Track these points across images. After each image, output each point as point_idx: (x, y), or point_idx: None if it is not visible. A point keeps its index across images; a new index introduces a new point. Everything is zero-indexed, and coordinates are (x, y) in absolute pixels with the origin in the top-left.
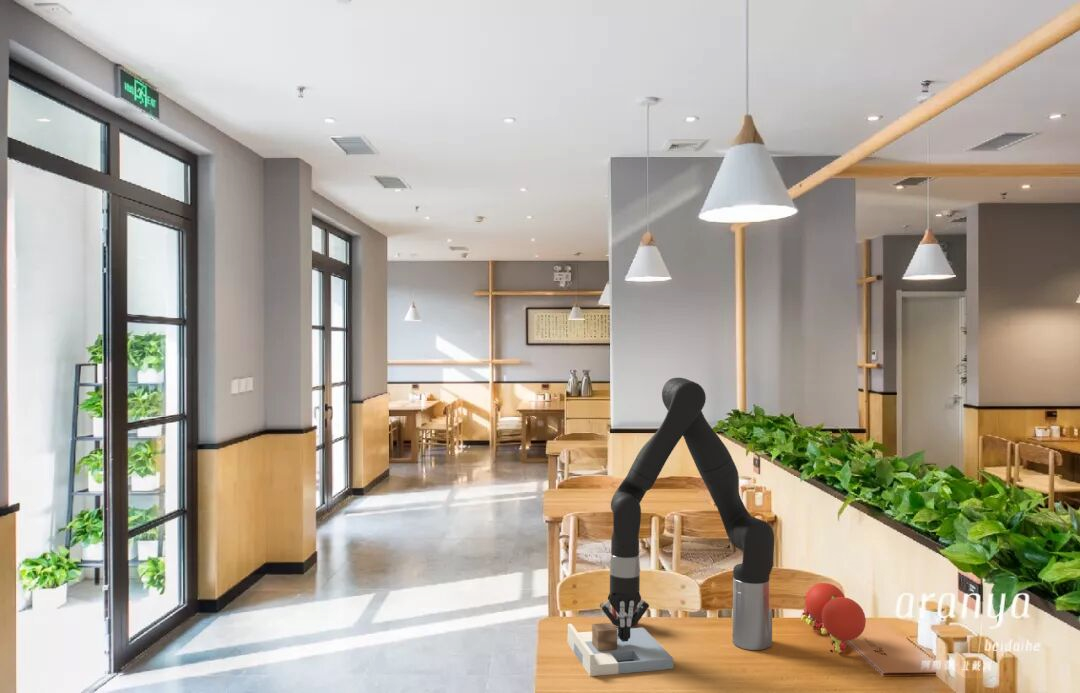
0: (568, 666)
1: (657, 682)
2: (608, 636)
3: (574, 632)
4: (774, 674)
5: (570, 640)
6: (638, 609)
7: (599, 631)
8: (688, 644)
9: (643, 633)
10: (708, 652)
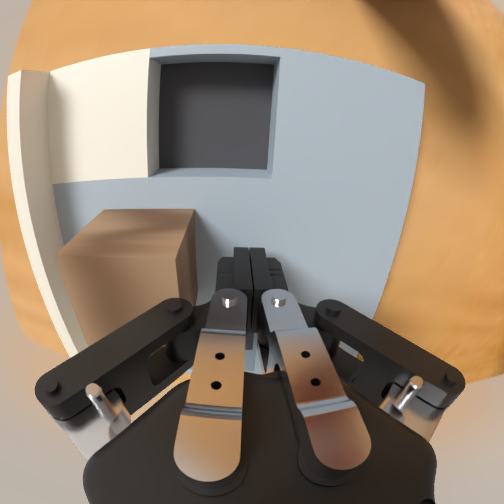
0: None
1: None
2: None
3: (15, 196)
4: (464, 364)
5: None
6: (380, 381)
7: None
8: (477, 209)
9: (397, 149)
10: (474, 271)
